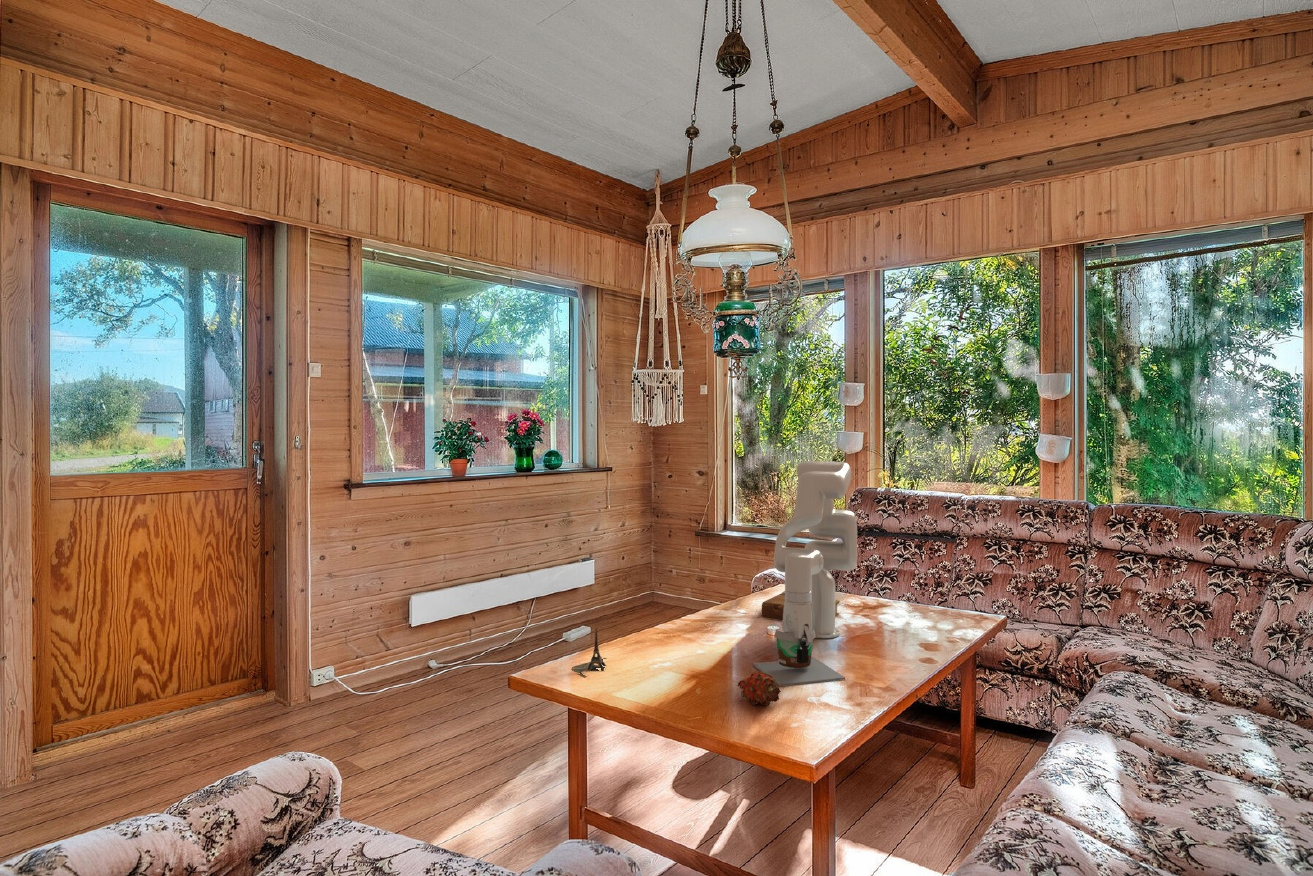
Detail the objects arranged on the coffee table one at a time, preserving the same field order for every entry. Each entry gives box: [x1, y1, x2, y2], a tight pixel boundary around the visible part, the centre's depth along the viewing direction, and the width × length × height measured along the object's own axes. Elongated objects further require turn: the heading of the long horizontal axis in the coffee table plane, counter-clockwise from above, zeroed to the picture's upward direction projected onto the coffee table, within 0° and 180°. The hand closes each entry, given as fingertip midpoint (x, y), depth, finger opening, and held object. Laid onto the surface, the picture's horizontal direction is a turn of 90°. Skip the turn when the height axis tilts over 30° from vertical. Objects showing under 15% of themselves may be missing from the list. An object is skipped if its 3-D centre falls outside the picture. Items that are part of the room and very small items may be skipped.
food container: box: [773, 627, 816, 668], centre depth 210 cm, size 12×6×10 cm, turn 106°
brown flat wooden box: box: [761, 592, 840, 620], centre depth 273 cm, size 23×19×6 cm
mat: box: [752, 657, 846, 688], centre depth 211 cm, size 18×20×1 cm
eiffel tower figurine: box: [570, 627, 608, 678], centre depth 215 cm, size 15×10×13 cm
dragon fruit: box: [737, 671, 782, 706], centre depth 188 cm, size 8×8×12 cm
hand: (797, 658), depth 211 cm, fingers closed on food container, 5 cm apart
